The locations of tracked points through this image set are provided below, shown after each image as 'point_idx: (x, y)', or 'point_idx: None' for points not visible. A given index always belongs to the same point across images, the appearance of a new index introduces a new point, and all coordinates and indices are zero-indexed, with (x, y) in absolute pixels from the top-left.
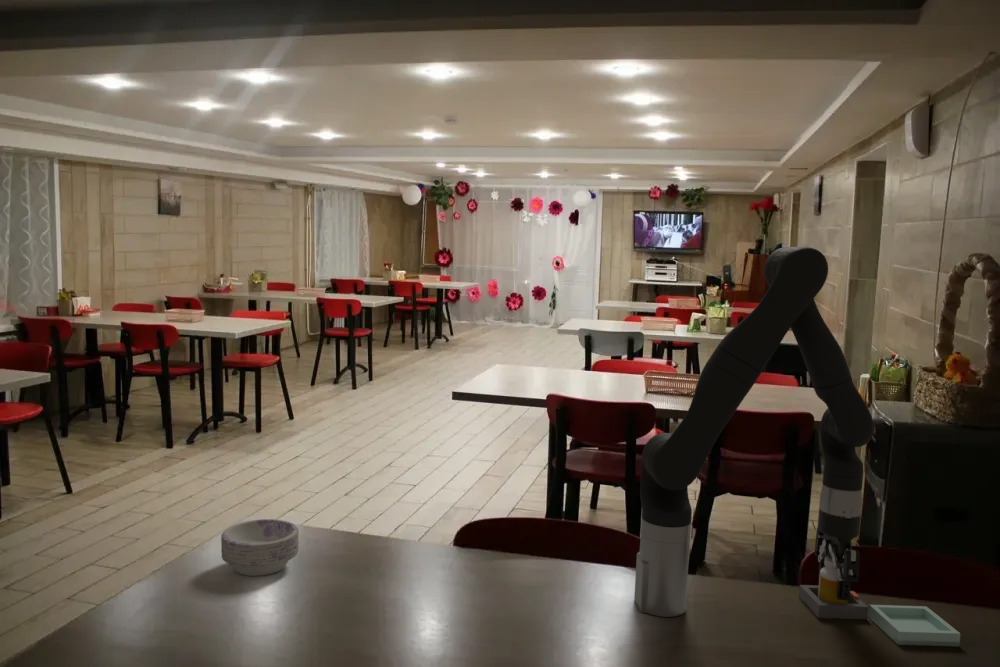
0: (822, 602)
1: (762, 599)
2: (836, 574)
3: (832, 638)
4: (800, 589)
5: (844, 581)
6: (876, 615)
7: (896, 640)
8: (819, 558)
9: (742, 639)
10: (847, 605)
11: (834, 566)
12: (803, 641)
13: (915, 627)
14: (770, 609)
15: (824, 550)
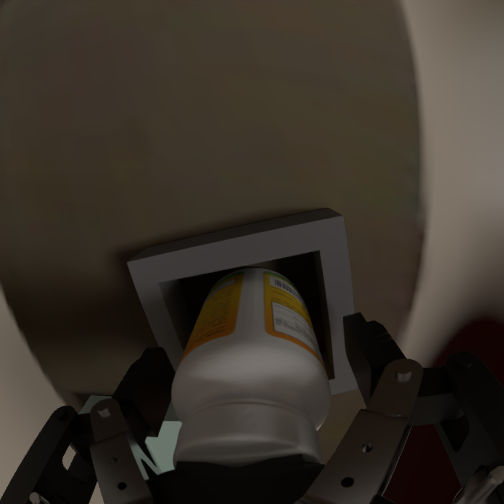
0: (219, 286)
1: (259, 61)
2: (184, 414)
3: (44, 262)
4: (325, 215)
5: (65, 406)
6: (174, 412)
7: (93, 399)
8: (401, 377)
9: (7, 57)
10: (172, 363)
11: (112, 437)
12: (11, 185)
13: (173, 451)
14: (170, 84)
15: (316, 479)
